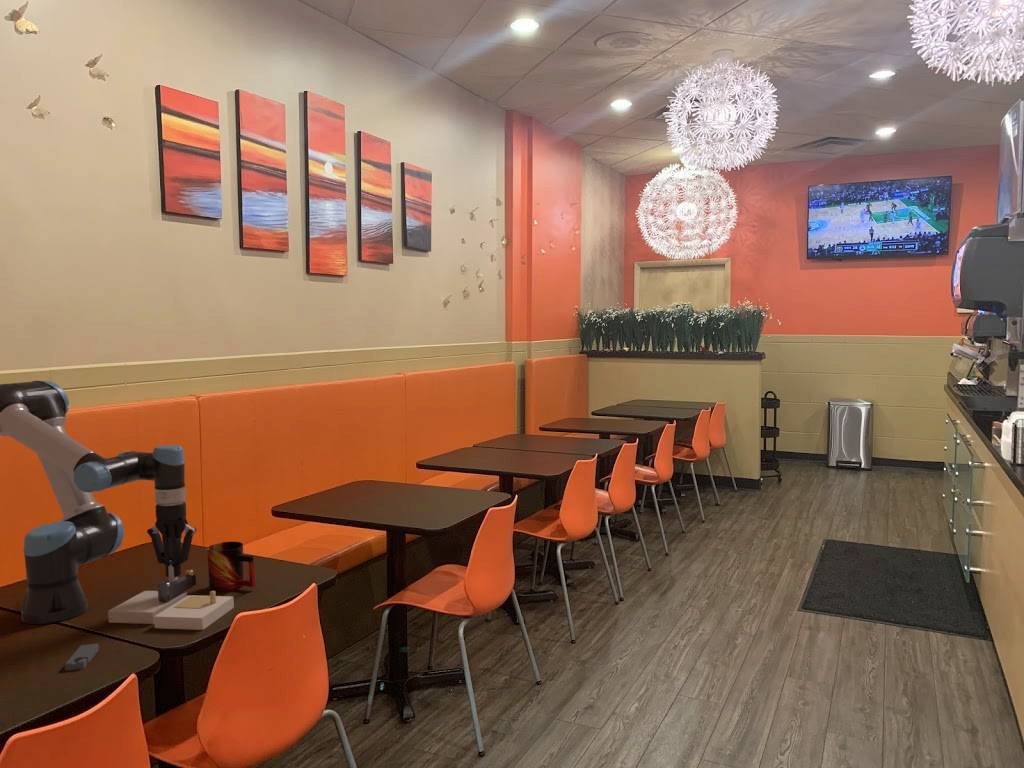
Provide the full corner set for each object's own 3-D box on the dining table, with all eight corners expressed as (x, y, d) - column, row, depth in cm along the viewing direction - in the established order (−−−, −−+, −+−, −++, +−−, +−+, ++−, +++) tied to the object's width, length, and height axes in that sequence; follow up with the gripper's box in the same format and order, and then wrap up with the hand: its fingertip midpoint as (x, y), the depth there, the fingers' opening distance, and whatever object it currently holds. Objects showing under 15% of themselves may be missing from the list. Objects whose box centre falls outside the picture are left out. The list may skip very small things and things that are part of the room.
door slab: (154, 628, 189) (153, 604, 188) (188, 606, 203) (187, 584, 203) (202, 629, 187) (201, 606, 186) (233, 607, 201) (232, 585, 201)
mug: (254, 591, 214) (252, 549, 213) (204, 593, 213) (202, 551, 212) (263, 579, 224) (261, 540, 223) (215, 582, 223) (213, 542, 222)
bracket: (99, 651, 177) (98, 643, 177) (84, 670, 166) (83, 661, 166) (81, 653, 176) (80, 645, 176) (64, 672, 166) (64, 664, 166)
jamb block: (108, 622, 193) (108, 611, 193) (145, 601, 208) (144, 590, 208) (153, 623, 191) (152, 612, 191) (187, 602, 206) (186, 591, 206)
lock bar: (166, 602, 197) (165, 585, 197) (156, 601, 198) (155, 584, 197) (196, 584, 210) (195, 568, 210) (187, 584, 211) (186, 568, 210)
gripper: (140, 505, 200) (144, 592, 202) (186, 506, 199) (189, 593, 201) (155, 499, 208) (159, 583, 210) (200, 499, 207) (203, 583, 209)
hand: (174, 588), depth 205 cm, fingers closed
